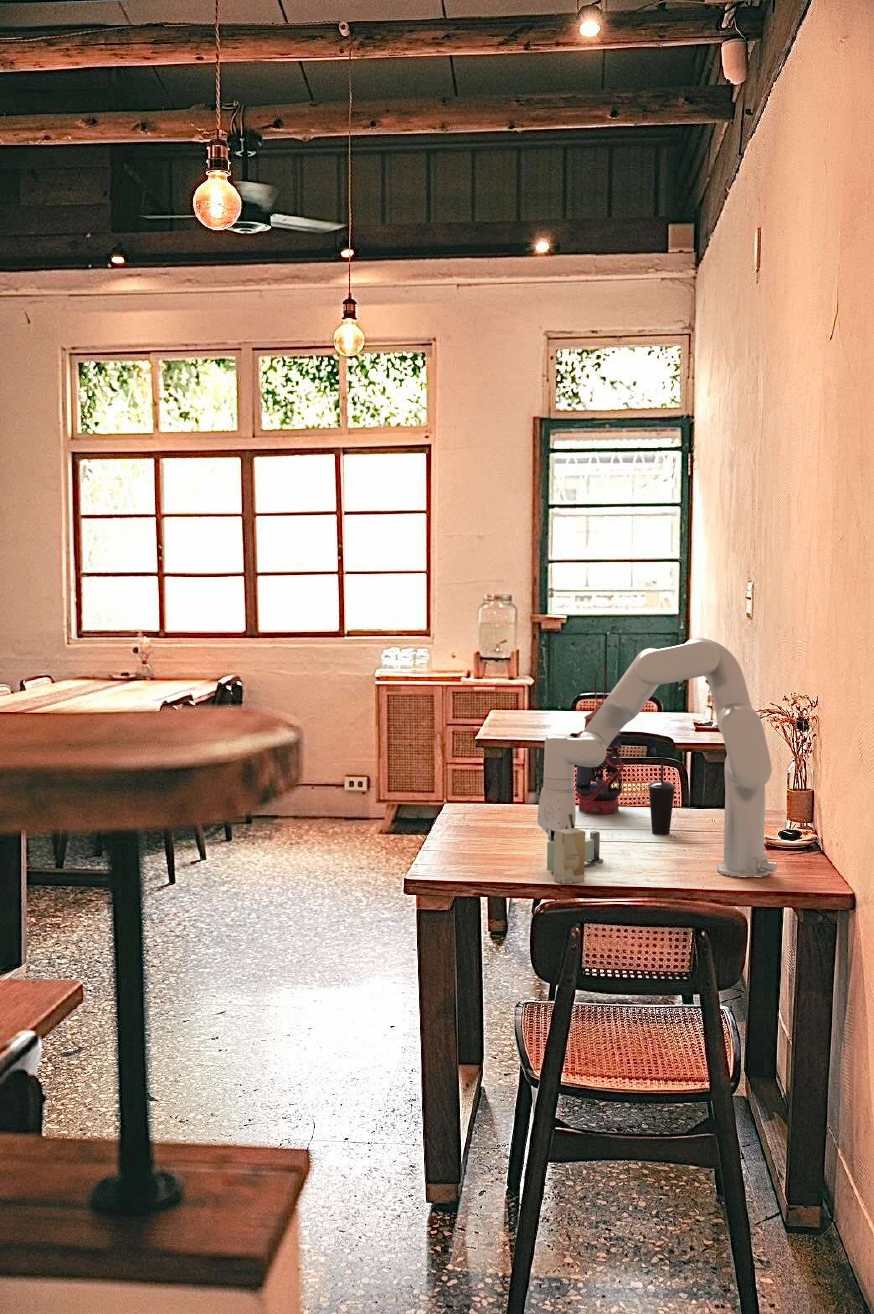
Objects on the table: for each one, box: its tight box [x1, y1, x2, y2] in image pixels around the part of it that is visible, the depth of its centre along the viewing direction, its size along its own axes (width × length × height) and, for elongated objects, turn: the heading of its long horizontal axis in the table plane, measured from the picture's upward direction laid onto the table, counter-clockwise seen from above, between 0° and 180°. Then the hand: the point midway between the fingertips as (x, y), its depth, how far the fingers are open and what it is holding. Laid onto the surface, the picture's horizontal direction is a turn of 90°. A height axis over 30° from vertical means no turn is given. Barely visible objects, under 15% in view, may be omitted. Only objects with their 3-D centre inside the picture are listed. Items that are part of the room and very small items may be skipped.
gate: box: [546, 838, 594, 873], centre depth 302 cm, size 16×2×7 cm, turn 135°
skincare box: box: [553, 828, 586, 885], centre depth 289 cm, size 6×4×12 cm
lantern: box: [575, 664, 625, 816], centre depth 372 cm, size 16×15×45 cm
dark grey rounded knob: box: [586, 830, 604, 864], centre depth 308 cm, size 4×4×8 cm
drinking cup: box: [647, 762, 677, 836], centre depth 342 cm, size 8×8×20 cm
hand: (556, 856), depth 303 cm, fingers closed
